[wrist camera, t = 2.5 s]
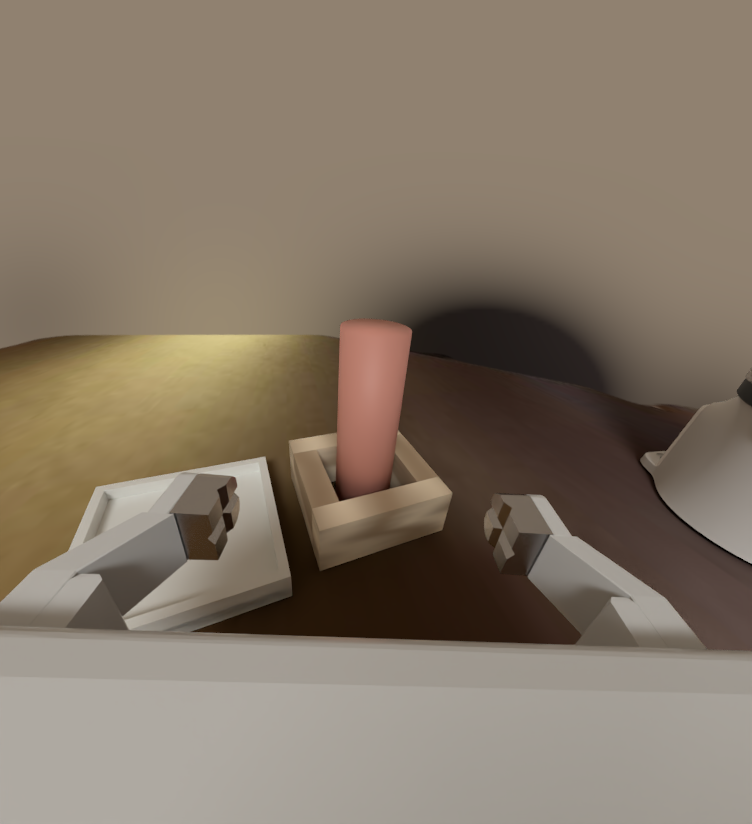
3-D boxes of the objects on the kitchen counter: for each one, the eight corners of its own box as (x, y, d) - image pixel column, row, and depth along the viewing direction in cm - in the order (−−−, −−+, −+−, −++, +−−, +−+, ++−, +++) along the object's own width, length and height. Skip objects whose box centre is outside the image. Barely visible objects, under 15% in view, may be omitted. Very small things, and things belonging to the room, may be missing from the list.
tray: (267, 473, 29) (265, 456, 28) (292, 595, 20) (291, 576, 19) (105, 506, 24) (95, 487, 23) (38, 685, 15) (18, 666, 14)
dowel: (374, 478, 30) (392, 318, 22) (396, 513, 26) (425, 337, 19) (328, 489, 28) (331, 319, 21) (345, 528, 25) (355, 340, 17)
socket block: (388, 456, 33) (392, 423, 31) (442, 530, 25) (452, 493, 23) (291, 476, 29) (288, 440, 27) (319, 571, 21) (319, 531, 19)
